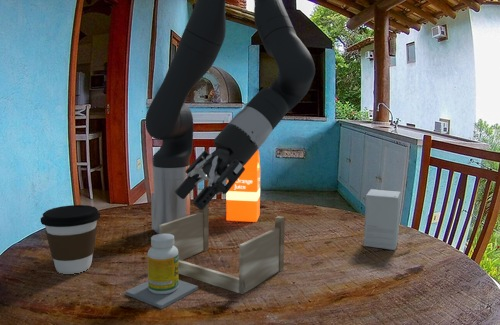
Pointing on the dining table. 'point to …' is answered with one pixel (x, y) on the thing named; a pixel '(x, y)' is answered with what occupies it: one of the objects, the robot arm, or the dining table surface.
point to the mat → (161, 300)
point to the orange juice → (245, 193)
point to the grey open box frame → (250, 253)
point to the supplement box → (382, 219)
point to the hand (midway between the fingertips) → (187, 201)
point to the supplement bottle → (163, 264)
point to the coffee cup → (71, 236)
